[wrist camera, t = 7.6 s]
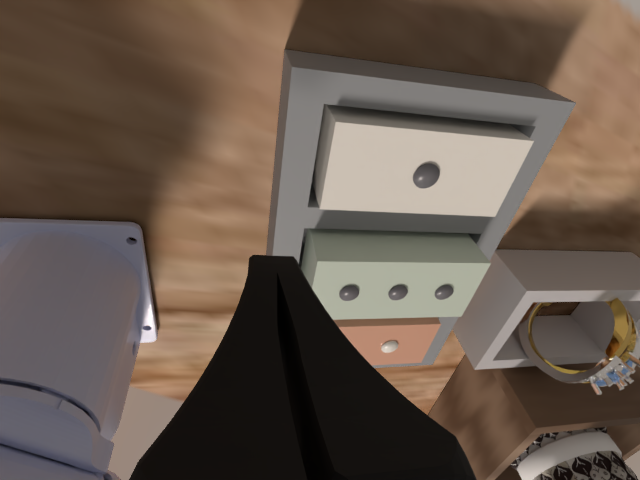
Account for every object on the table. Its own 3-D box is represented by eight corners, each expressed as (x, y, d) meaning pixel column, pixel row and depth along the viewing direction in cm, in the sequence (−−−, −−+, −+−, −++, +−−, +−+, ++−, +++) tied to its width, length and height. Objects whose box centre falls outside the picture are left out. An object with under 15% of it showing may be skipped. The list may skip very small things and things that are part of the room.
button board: (417, 332, 30) (432, 364, 28) (258, 337, 27) (260, 374, 25) (534, 83, 19) (576, 102, 17) (284, 49, 16) (292, 66, 14)
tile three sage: (439, 280, 24) (462, 317, 21) (299, 280, 22) (306, 321, 19) (464, 228, 21) (492, 264, 19) (308, 223, 19) (318, 262, 17)
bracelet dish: (573, 322, 33) (607, 361, 30) (450, 326, 30) (474, 369, 27) (631, 252, 28) (679, 289, 25) (492, 249, 26) (527, 290, 23)
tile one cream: (467, 187, 21) (496, 217, 19) (310, 177, 19) (320, 210, 17) (497, 116, 19) (535, 142, 16) (322, 97, 17) (336, 123, 14)
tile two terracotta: (406, 328, 28) (421, 364, 26) (286, 331, 26) (291, 371, 24) (423, 289, 26) (442, 325, 23) (292, 290, 24) (298, 329, 21)
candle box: (537, 408, 43) (587, 487, 37) (425, 418, 40) (459, 506, 34) (612, 328, 35) (692, 411, 29) (478, 333, 32) (536, 428, 25)
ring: (573, 254, 27) (671, 346, 21) (588, 273, 29) (684, 364, 23) (491, 310, 30) (558, 407, 23) (510, 324, 31) (577, 418, 25)
